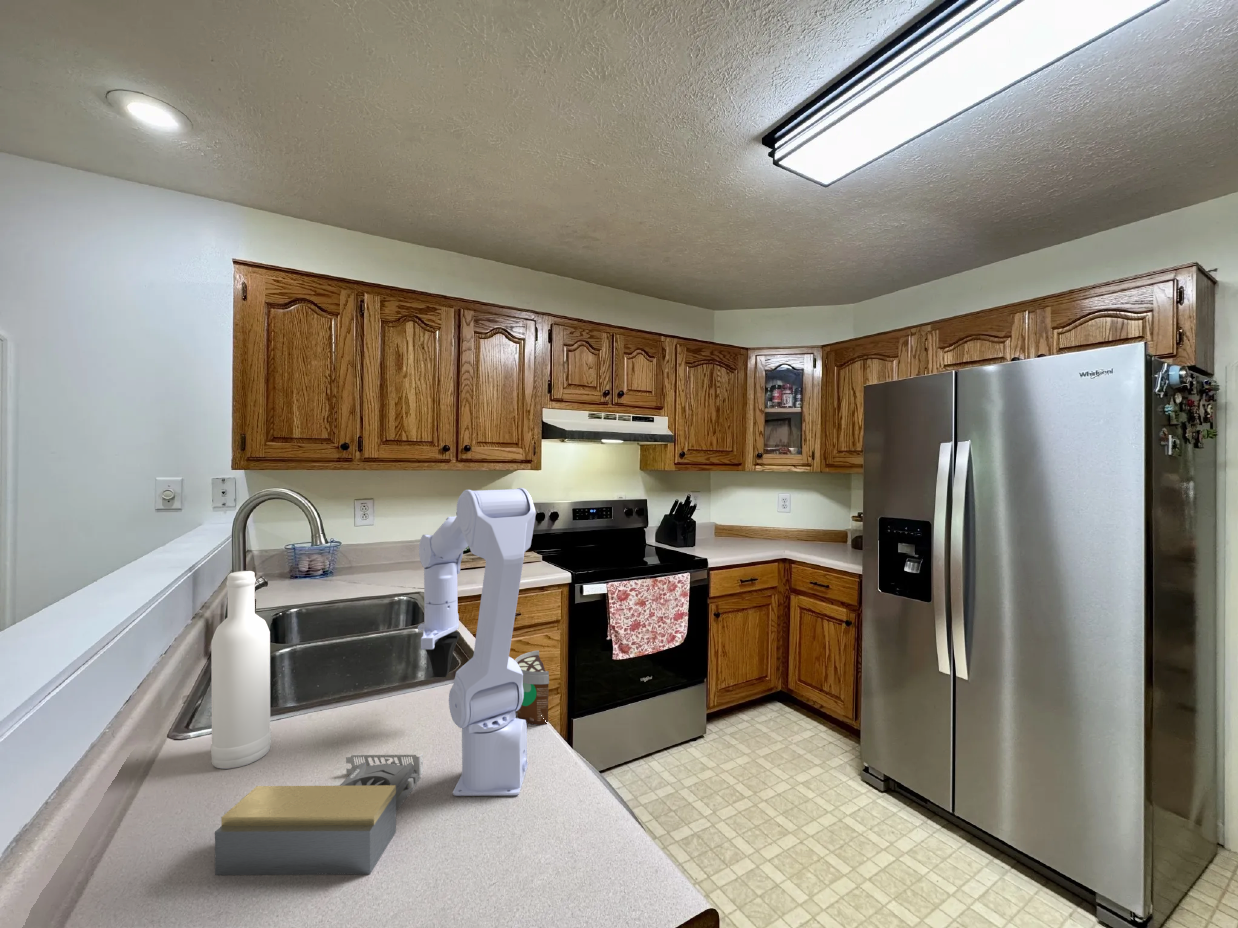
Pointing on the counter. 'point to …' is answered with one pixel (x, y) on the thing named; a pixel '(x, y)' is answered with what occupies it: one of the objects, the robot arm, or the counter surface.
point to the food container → (533, 689)
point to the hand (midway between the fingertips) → (441, 675)
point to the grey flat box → (306, 830)
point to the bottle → (240, 679)
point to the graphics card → (385, 773)
